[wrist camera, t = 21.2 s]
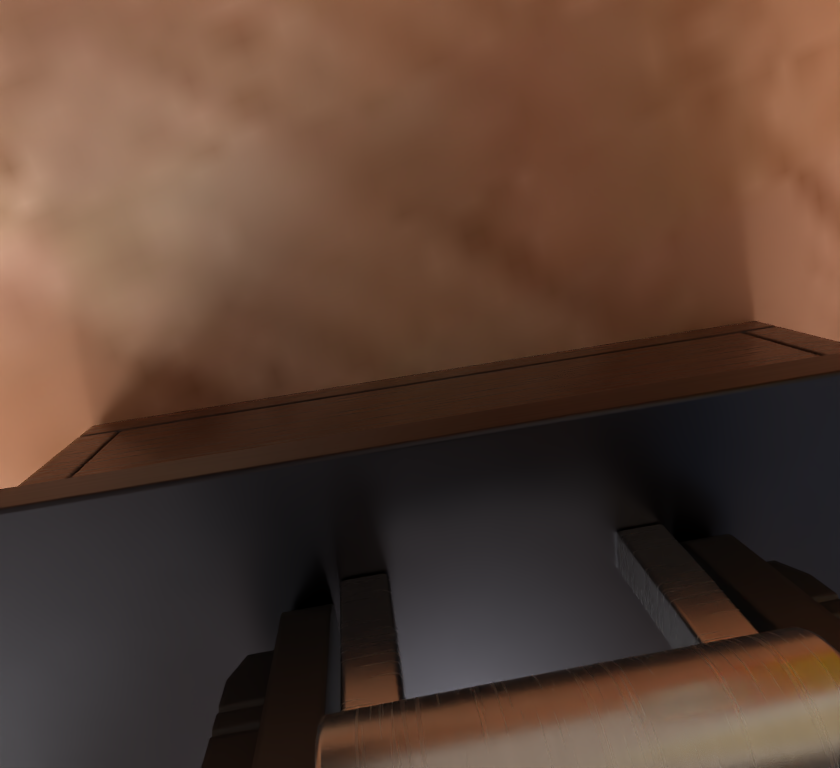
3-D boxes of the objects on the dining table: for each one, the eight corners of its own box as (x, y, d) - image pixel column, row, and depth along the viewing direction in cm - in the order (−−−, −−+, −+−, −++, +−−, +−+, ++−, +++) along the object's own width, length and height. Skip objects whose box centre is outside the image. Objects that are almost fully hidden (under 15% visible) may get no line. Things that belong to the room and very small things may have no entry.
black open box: (91, 425, 16) (-17, 512, 11) (756, 320, 17) (914, 358, 12) (245, 1012, 20) (214, 1256, 15) (770, 900, 21) (891, 1096, 17)
